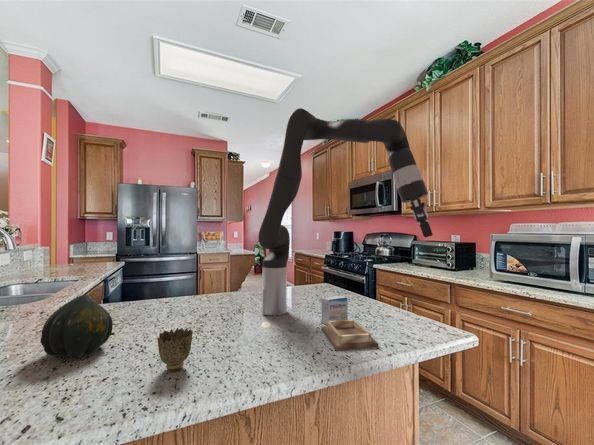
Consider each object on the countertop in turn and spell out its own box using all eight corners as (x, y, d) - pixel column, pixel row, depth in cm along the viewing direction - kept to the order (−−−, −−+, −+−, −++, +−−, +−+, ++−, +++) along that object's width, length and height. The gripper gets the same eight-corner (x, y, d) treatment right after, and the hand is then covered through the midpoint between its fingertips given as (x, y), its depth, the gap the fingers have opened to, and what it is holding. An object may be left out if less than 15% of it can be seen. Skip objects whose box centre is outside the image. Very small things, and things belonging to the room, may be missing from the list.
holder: (335, 350, 74) (335, 338, 74) (321, 329, 89) (321, 320, 89) (378, 346, 76) (378, 335, 76) (357, 327, 91) (357, 318, 91)
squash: (38, 351, 61) (91, 290, 70) (16, 339, 69) (66, 286, 78) (94, 374, 69) (135, 317, 78) (69, 361, 77) (108, 311, 86)
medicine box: (328, 326, 92) (328, 300, 92) (321, 322, 96) (321, 297, 96) (348, 323, 95) (348, 297, 96) (340, 319, 99) (340, 294, 100)
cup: (164, 361, 68) (164, 327, 68) (196, 360, 69) (196, 327, 69) (151, 377, 61) (151, 340, 61) (186, 376, 61) (187, 339, 61)
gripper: (399, 191, 91) (417, 239, 89) (393, 184, 79) (413, 240, 76) (424, 183, 88) (442, 232, 86) (421, 174, 76) (443, 232, 73)
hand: (428, 236), depth 81 cm, fingers open, 8 cm apart
